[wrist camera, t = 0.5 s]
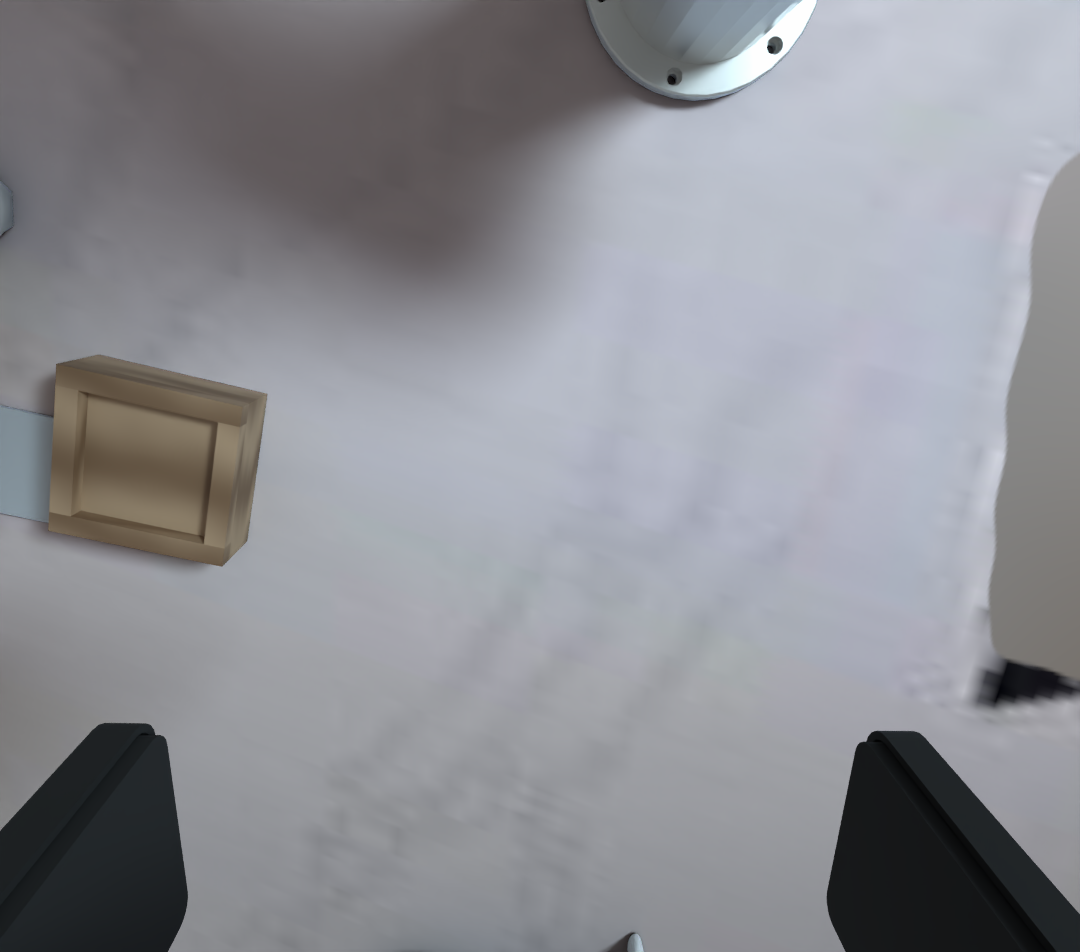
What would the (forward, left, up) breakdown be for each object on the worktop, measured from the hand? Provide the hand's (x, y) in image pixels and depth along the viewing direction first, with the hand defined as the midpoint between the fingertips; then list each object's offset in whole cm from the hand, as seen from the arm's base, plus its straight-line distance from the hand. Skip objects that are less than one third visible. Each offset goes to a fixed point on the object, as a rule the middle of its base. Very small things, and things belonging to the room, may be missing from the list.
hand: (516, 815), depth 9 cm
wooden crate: (+9, -20, -35) cm, 41 cm away
